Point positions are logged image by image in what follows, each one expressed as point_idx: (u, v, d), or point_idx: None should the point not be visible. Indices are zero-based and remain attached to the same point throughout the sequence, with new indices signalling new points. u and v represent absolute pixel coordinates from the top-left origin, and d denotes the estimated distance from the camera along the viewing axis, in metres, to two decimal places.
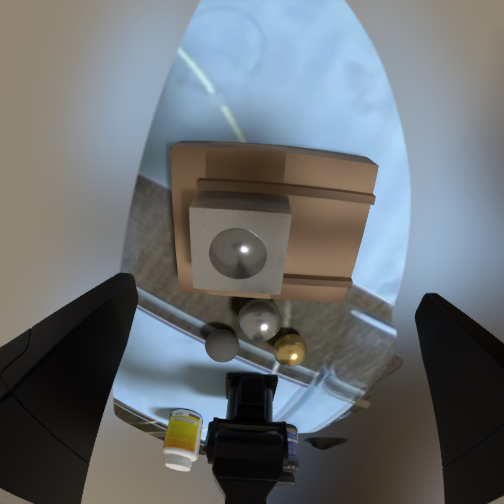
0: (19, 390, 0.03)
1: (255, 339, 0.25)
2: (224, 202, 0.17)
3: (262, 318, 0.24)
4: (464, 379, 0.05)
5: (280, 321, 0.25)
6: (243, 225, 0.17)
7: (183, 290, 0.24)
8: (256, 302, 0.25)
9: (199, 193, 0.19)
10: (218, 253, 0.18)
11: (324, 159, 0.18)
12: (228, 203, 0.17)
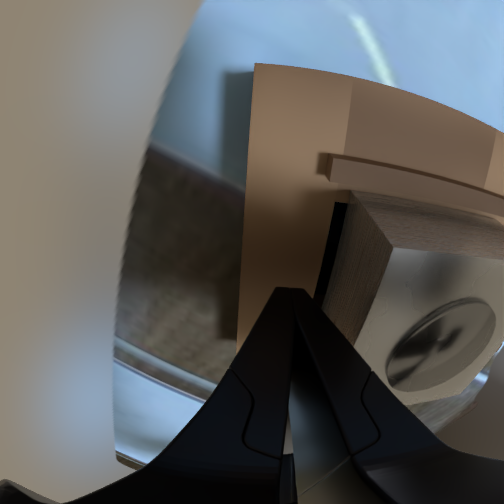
0: (271, 452, 0.03)
1: None
2: (445, 231, 0.06)
3: None
4: (303, 397, 0.05)
5: None
6: (486, 292, 0.05)
7: None
8: None
9: (361, 198, 0.07)
10: (413, 356, 0.06)
11: None
12: (455, 235, 0.05)
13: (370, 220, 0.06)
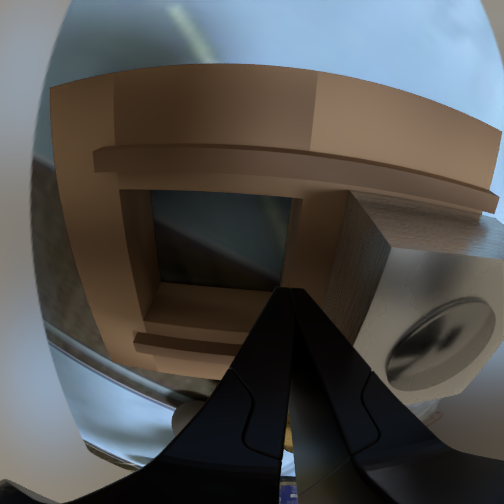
0: (270, 452, 0.03)
1: None
2: (444, 231, 0.06)
3: None
4: (303, 397, 0.05)
5: (288, 409, 0.13)
6: (485, 291, 0.05)
7: (117, 361, 0.12)
8: None
9: (359, 198, 0.07)
10: (413, 356, 0.06)
11: (408, 99, 0.06)
12: (454, 234, 0.05)
13: (369, 220, 0.06)
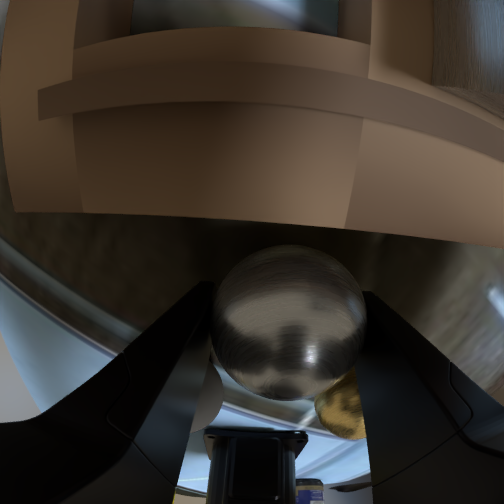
0: (133, 433, 0.03)
1: (276, 399, 0.06)
2: None
3: (309, 321, 0.05)
4: (389, 392, 0.05)
5: None
6: None
7: (20, 207, 0.05)
8: (279, 253, 0.06)
9: None
10: None
11: None
12: None
13: None
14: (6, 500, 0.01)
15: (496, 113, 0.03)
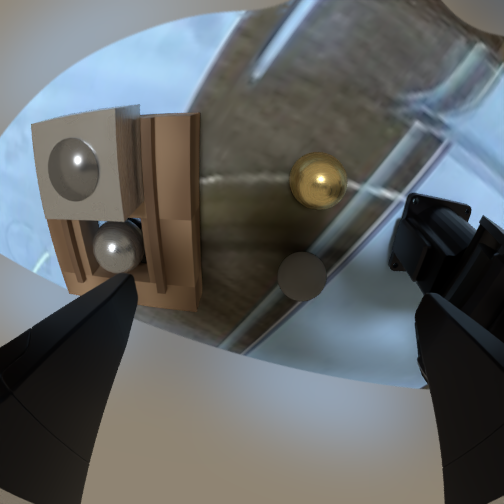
0: (19, 390, 0.03)
1: (109, 269, 0.18)
2: None
3: (110, 237, 0.17)
4: (464, 379, 0.05)
5: (138, 244, 0.19)
6: (46, 167, 0.12)
7: (194, 308, 0.21)
8: None
9: None
10: (73, 191, 0.13)
11: None
12: None
13: None
14: None
15: (140, 178, 0.16)
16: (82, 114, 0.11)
